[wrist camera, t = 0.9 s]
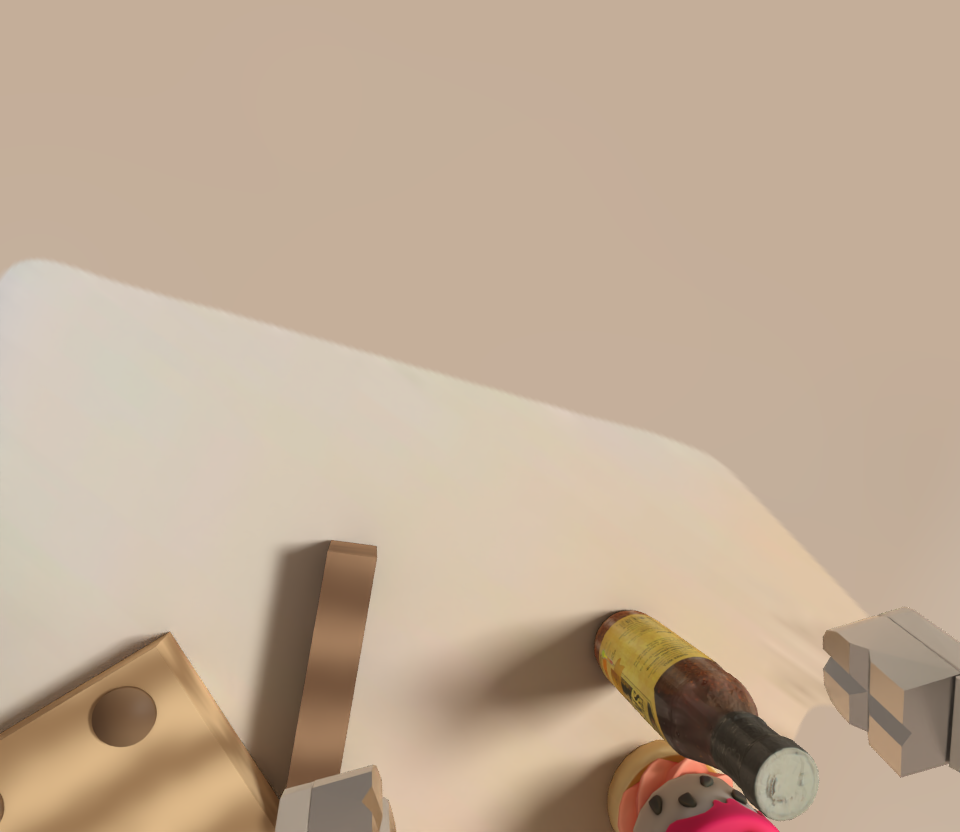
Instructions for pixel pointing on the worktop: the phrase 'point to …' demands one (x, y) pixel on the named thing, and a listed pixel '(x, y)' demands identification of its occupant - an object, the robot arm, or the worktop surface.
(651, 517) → the worktop surface
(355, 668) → the brown wooden block
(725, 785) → the cake
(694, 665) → the sauce bottle
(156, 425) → the worktop surface
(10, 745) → the stool seat
